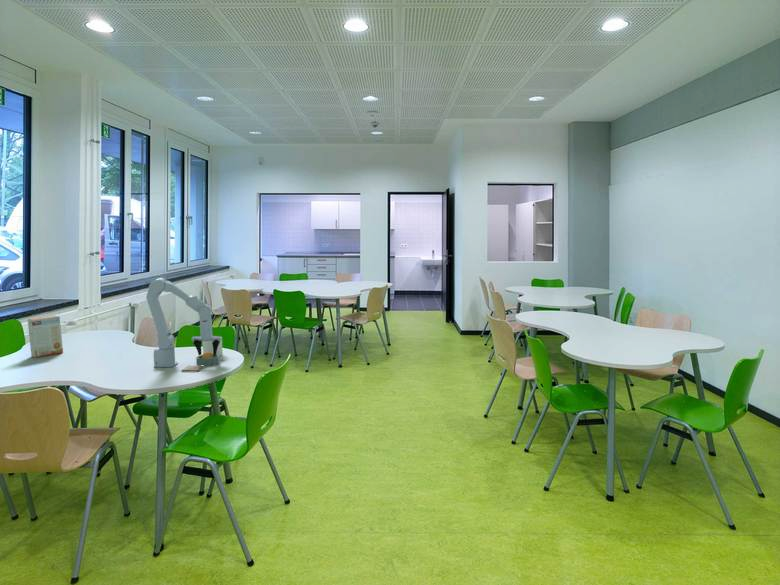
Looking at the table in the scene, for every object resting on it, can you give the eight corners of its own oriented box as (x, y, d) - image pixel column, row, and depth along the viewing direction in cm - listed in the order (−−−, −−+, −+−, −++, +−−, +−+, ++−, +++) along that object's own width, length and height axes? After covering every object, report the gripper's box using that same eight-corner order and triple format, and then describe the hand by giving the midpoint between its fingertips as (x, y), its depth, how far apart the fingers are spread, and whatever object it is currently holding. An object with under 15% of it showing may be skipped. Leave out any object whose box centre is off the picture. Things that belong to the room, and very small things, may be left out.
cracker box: (58, 351, 300) (55, 315, 297) (63, 353, 296) (60, 316, 294) (30, 356, 288) (27, 318, 286) (35, 358, 285) (32, 319, 282)
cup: (216, 358, 282) (215, 340, 280) (199, 357, 284) (198, 339, 282) (226, 354, 291) (225, 336, 290) (209, 353, 293) (208, 335, 292)
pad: (181, 371, 256) (181, 370, 256) (188, 367, 264) (188, 365, 264) (198, 371, 256) (197, 370, 256) (204, 367, 264) (204, 365, 263)
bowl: (193, 365, 266) (193, 359, 266) (201, 360, 277) (201, 354, 276) (214, 365, 266) (214, 359, 266) (221, 360, 277) (221, 354, 276)
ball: (200, 363, 269) (199, 353, 268) (204, 361, 274) (203, 350, 274) (211, 363, 269) (210, 353, 268) (215, 360, 274) (214, 350, 273)
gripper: (188, 330, 266) (190, 356, 267) (217, 330, 265) (218, 356, 267) (194, 327, 273) (195, 353, 274) (222, 327, 272) (223, 353, 274)
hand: (207, 354), depth 271 cm, fingers open, 7 cm apart
